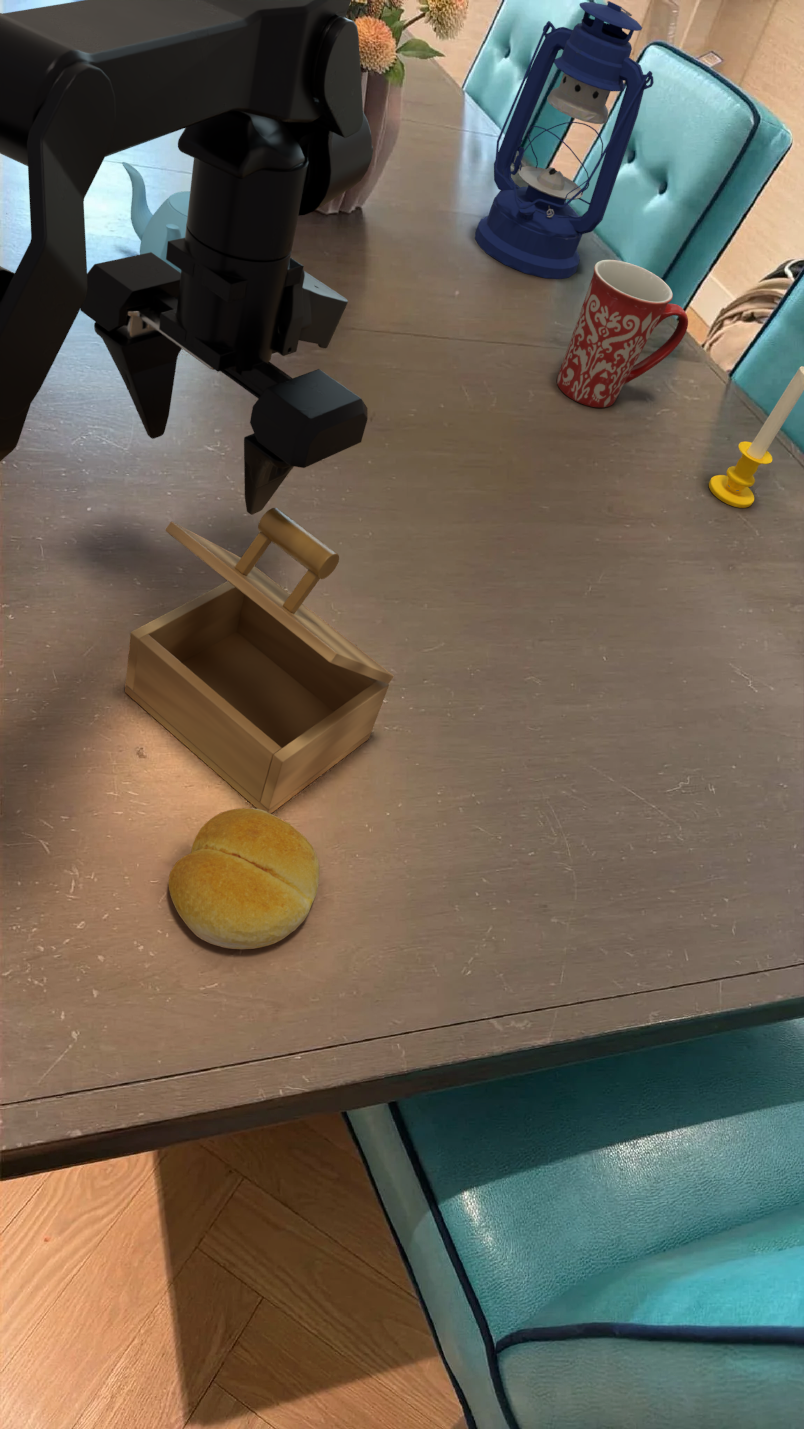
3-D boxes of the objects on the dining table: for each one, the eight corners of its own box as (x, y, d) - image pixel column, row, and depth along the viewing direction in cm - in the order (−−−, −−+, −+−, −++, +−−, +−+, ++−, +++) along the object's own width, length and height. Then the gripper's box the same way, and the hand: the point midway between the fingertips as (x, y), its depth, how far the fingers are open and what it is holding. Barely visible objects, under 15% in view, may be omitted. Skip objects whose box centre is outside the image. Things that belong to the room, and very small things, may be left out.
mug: (554, 403, 112) (603, 289, 103) (543, 362, 118) (588, 250, 109) (655, 427, 115) (712, 318, 105) (639, 385, 121) (692, 279, 111)
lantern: (599, 268, 143) (699, 30, 122) (553, 292, 133) (653, 37, 112) (500, 213, 147) (581, -27, 125) (448, 233, 136) (526, -25, 115)
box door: (329, 663, 56) (383, 589, 55) (164, 529, 60) (213, 460, 59) (388, 684, 67) (434, 623, 66) (244, 570, 70) (286, 511, 70)
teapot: (225, 260, 114) (238, 168, 107) (273, 321, 107) (290, 227, 100) (114, 257, 107) (120, 158, 100) (158, 322, 101) (168, 221, 94)
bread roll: (144, 916, 57) (149, 879, 55) (221, 810, 64) (229, 772, 61) (270, 983, 57) (282, 949, 54) (335, 869, 63) (349, 833, 60)
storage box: (266, 817, 64) (282, 762, 60) (124, 692, 68) (130, 631, 64) (369, 739, 71) (389, 684, 67) (234, 628, 75) (246, 570, 71)
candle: (760, 502, 110) (842, 376, 99) (735, 512, 107) (817, 384, 96) (725, 474, 112) (801, 348, 101) (699, 484, 109) (775, 355, 98)
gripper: (456, 291, 57) (386, 510, 68) (225, 144, 62) (195, 371, 73) (329, 333, 49) (274, 571, 60) (79, 163, 54) (70, 411, 65)
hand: (204, 473), depth 65 cm, fingers open, 9 cm apart
